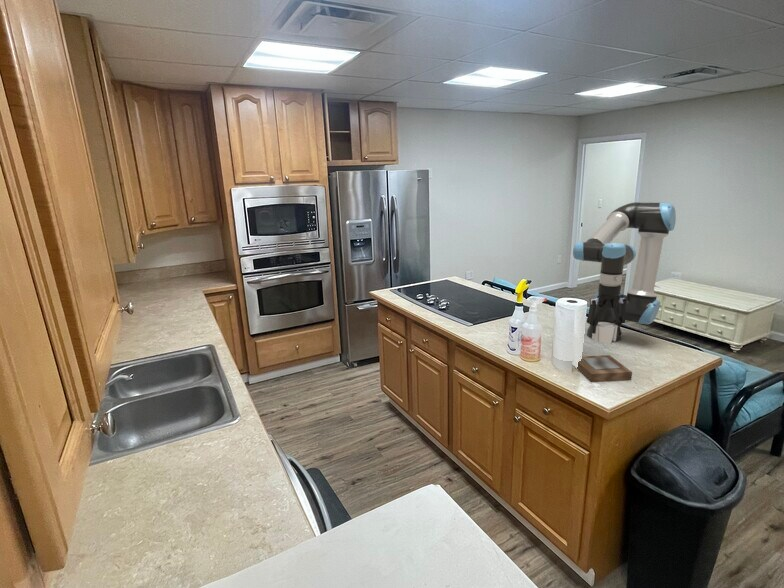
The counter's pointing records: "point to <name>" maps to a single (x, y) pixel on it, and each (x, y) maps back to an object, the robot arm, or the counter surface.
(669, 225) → the robot arm
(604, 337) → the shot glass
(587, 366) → the walnut base
